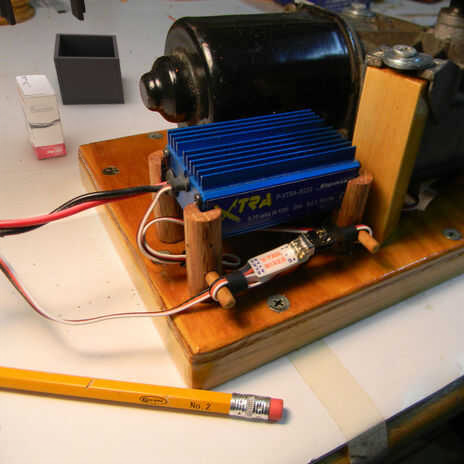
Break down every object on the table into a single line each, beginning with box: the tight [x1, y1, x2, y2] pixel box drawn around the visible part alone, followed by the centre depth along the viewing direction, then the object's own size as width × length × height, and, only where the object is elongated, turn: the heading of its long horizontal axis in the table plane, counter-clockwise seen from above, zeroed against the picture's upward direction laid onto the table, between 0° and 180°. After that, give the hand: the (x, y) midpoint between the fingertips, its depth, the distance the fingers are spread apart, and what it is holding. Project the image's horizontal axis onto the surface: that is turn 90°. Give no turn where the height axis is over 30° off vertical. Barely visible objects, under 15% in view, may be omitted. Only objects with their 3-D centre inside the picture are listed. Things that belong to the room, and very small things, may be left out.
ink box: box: [14, 74, 67, 160], centre depth 82 cm, size 9×5×12 cm, turn 34°
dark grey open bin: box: [53, 32, 125, 105], centre depth 102 cm, size 12×14×10 cm
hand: (45, 20), depth 72 cm, fingers open, 9 cm apart
